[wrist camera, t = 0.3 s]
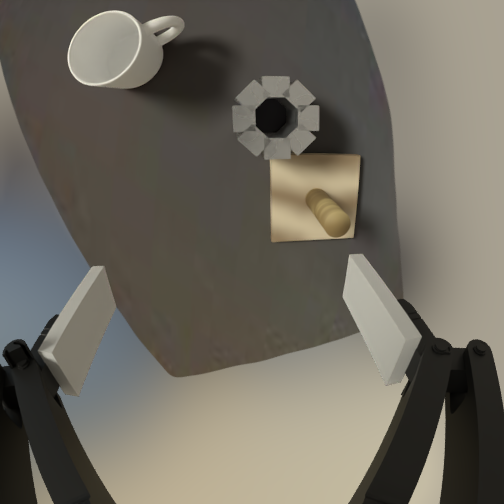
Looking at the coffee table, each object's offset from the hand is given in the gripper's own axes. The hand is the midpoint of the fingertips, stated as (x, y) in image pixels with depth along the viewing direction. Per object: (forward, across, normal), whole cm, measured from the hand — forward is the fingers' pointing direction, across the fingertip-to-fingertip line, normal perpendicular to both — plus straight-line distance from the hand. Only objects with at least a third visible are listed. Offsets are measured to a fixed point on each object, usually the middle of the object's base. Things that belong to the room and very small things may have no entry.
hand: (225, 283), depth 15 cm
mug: (+26, -10, +17) cm, 33 cm away
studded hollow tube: (+25, +5, +8) cm, 27 cm away
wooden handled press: (+26, +11, -3) cm, 28 cm away
